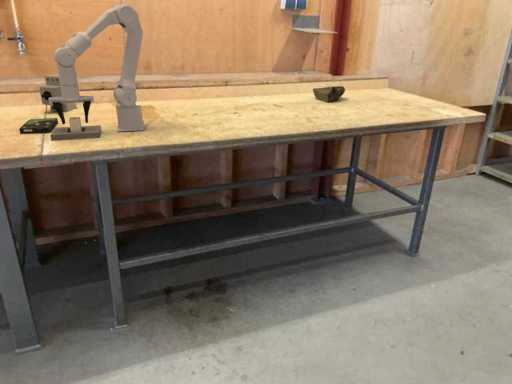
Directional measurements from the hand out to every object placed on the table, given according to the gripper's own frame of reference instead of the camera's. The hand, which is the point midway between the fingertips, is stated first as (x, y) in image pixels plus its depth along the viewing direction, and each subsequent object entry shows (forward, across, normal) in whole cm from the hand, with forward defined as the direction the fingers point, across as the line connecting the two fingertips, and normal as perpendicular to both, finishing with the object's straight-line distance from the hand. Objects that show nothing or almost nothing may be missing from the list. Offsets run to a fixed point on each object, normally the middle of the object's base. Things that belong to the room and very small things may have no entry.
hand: (75, 122), depth 150 cm
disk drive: (+5, -14, +13) cm, 20 cm away
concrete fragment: (+6, +120, +42) cm, 127 cm away
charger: (+4, 0, 0) cm, 4 cm away
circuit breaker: (+5, -11, +42) cm, 44 cm away
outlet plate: (+5, 0, 0) cm, 5 cm away
